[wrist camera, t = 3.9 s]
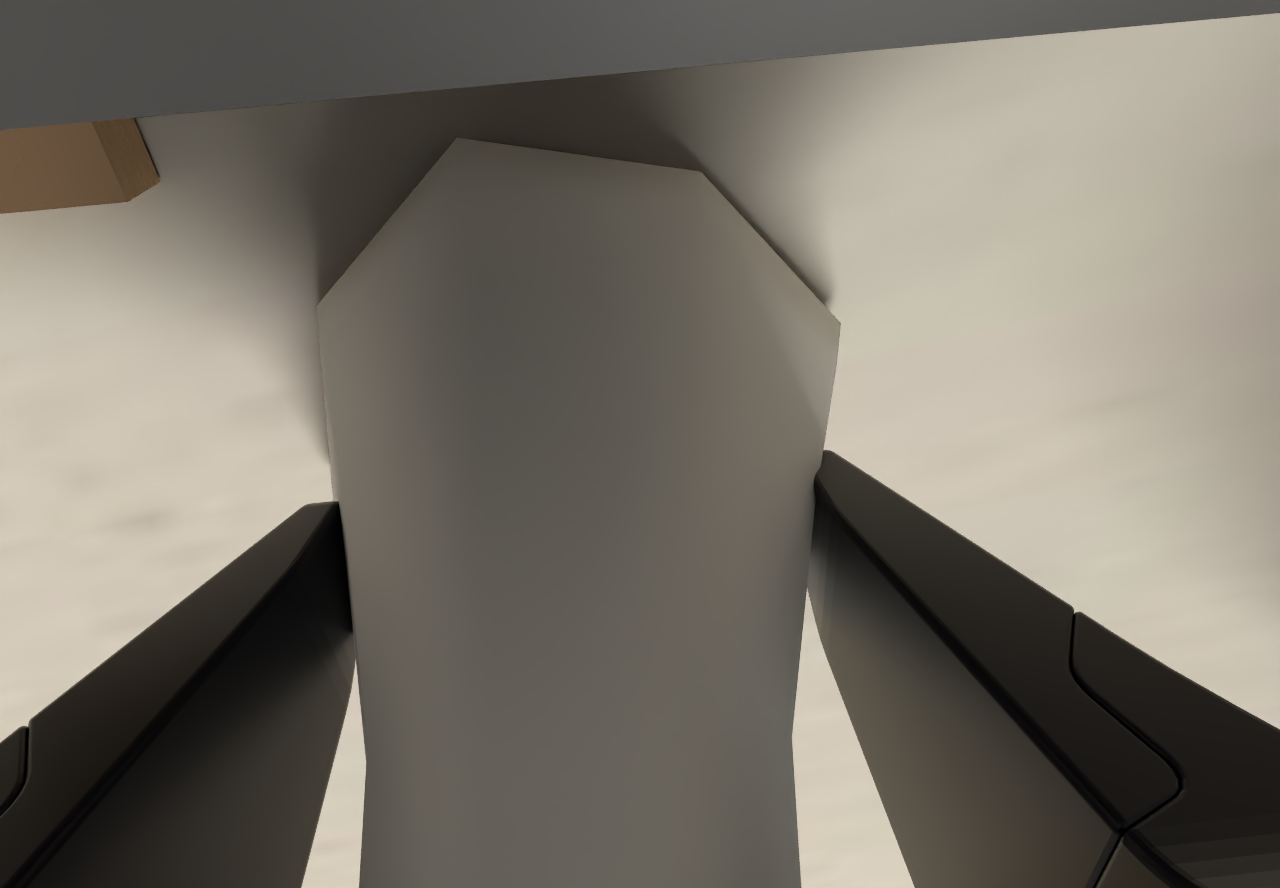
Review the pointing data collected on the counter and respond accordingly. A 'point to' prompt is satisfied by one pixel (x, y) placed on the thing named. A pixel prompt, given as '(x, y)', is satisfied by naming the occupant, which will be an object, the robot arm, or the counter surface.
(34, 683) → the counter surface
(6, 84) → the gauge plunger
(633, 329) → the flask
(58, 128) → the gauge housing
